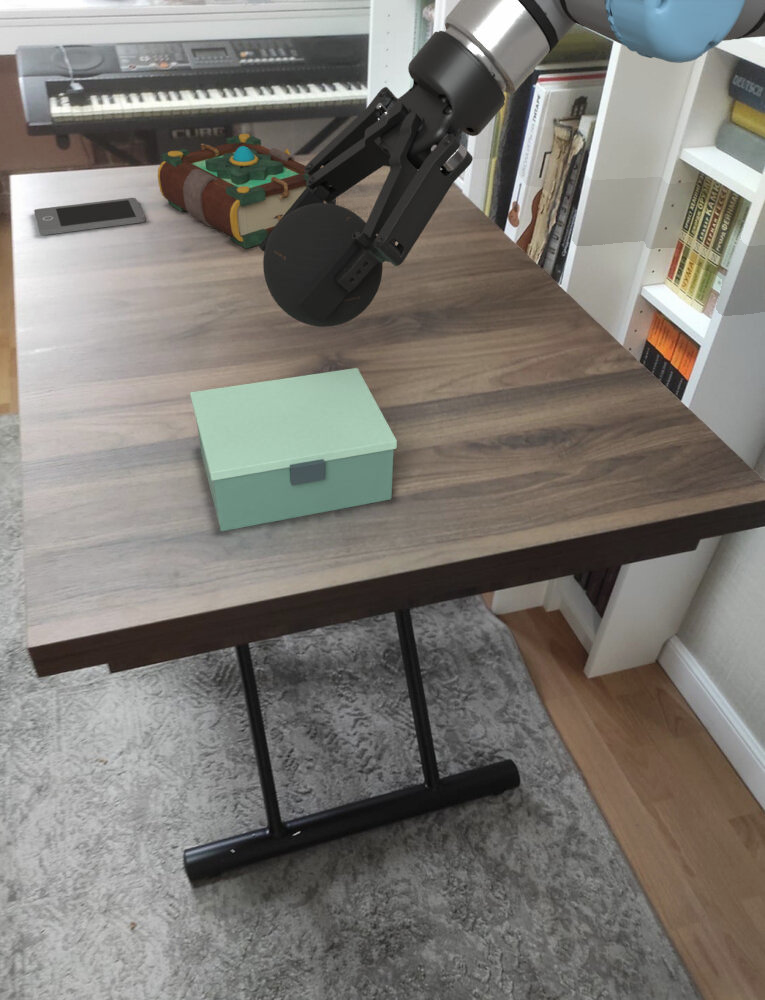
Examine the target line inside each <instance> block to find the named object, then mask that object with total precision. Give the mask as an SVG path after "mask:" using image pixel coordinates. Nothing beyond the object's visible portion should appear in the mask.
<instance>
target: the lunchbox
mask: <svg viewBox="0 0 765 1000" xmlns="http://www.w3.org/2000/svg"><path fill="white" fill-rule="evenodd" d="M189 397H190V400H191V405H192V409H193V413H194V417H195V421H196V427H197V433H198V441H199V447H200V453H201V457H202V462H203V466H204V471H205V474H206V478H207V482H208V486H209V489H210V493H211V497H212V501H213V506H214V509H215V510H214V511H215V514H216V519H217V522H218V527H219V530H220V532H226V531H232V530H237V529H243V528H247V527H253V526H259V525H263V524H269V523H274V522H278V521H279V522H280V521H284V520H290V519H294V518H300V517H306V516H311V515H316V514H322V513H327V512H332V511H337V510H343V509H348V508H352V507H358V506H359V507H360V506H364V505H369V504H373V503H379V502H385V501H388V500H389V501H391V500H392V497H393V496H392V494H393V493H392V492H393V471H394V452H395V451H394V450H396V449H397V448H398V441H397V440H398V439H397V438H396V436H395V435H394V432H393V431H392V429H391V427H390V426H389V424H388V422H387V420H386V418H385V416H384V414H383V412H382V411H381V409H380V406H379V405H378V403H377V401H376V399H375V397H374V396H373V394H372V392H371V391H370V388H369V386H368V385H367V382H366V380H365V379H364V377H363V375H362V374H361V371H360V370H359V368H358V367H353V368H347V369H339V370H332V371H327V372H319V373H313V374H305V375H298V376H291V377H286V378H279V379H273V380H265V381H258V382H251V383H244V384H238V385H237V384H236V385H231V386H223V387H218V388H210V389H205V390H197V391H191V392H189Z"/></svg>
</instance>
